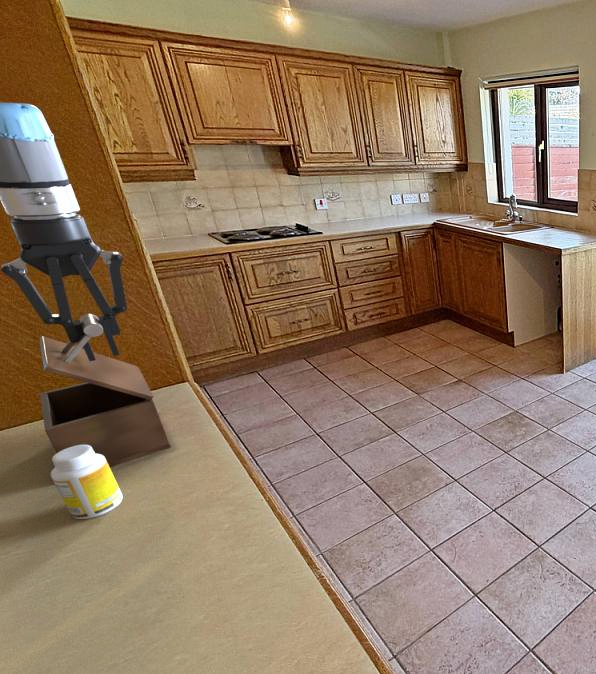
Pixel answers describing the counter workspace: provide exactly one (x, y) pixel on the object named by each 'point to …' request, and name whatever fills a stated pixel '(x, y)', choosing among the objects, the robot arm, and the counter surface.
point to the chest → (103, 422)
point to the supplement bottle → (85, 482)
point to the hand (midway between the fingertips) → (103, 355)
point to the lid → (92, 363)
